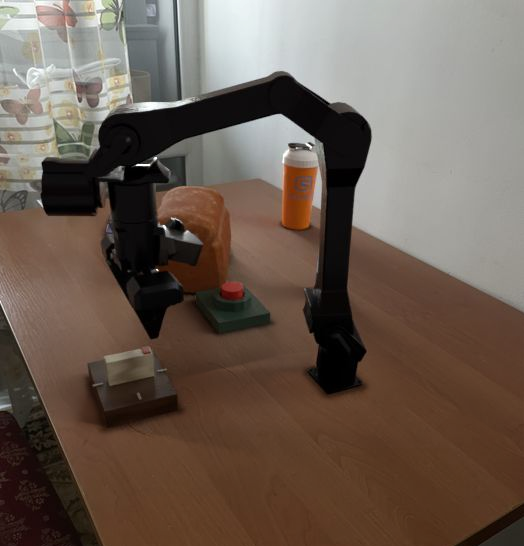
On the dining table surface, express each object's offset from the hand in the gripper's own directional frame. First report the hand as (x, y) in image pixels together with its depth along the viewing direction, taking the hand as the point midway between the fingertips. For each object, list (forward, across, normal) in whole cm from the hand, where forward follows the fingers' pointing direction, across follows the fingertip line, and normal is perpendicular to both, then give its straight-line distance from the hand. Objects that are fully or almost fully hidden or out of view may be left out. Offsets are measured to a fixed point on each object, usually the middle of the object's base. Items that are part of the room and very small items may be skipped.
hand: (144, 322), depth 77 cm
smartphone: (+10, +64, -13) cm, 66 cm away
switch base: (+10, -2, +3) cm, 11 cm away
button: (+7, +15, -20) cm, 26 cm away
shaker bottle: (+11, +50, -54) cm, 74 cm away
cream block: (+7, -2, +3) cm, 8 cm away
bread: (+11, +36, -19) cm, 42 cm away
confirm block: (+11, +15, -20) cm, 27 cm away
